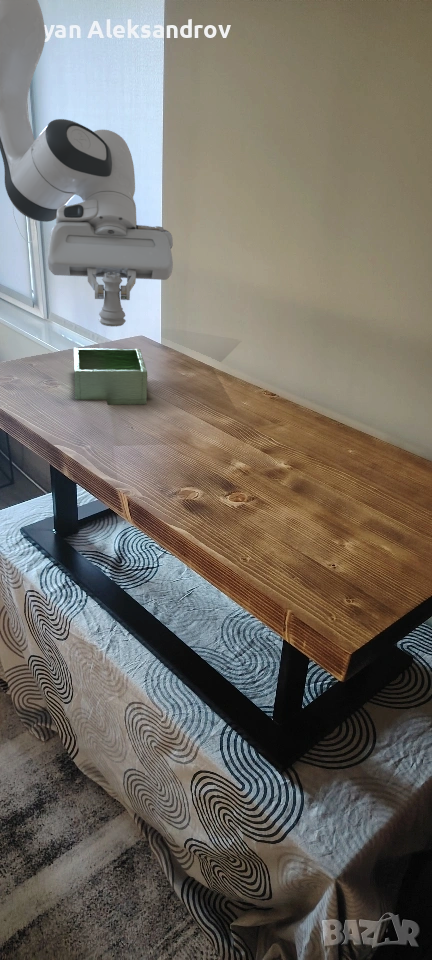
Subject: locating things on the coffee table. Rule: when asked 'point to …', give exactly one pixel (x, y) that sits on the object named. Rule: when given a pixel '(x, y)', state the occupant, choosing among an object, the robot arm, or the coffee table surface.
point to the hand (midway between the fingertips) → (112, 297)
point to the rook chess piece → (112, 301)
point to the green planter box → (110, 375)
